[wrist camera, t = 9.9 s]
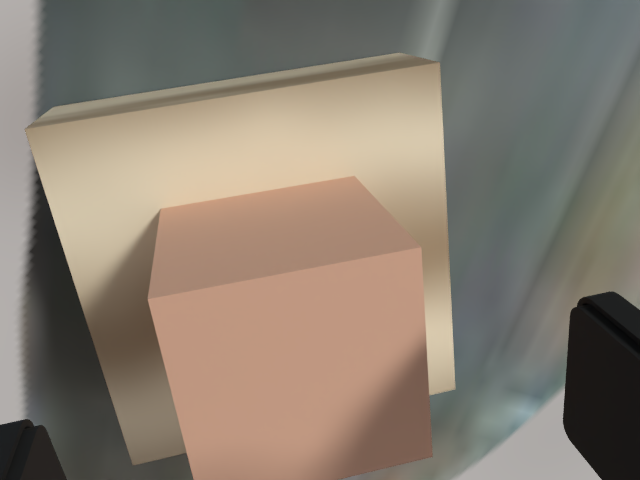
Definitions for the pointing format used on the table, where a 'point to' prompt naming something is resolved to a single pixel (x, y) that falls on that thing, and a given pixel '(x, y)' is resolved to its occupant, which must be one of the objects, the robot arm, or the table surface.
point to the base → (233, 180)
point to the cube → (293, 333)
